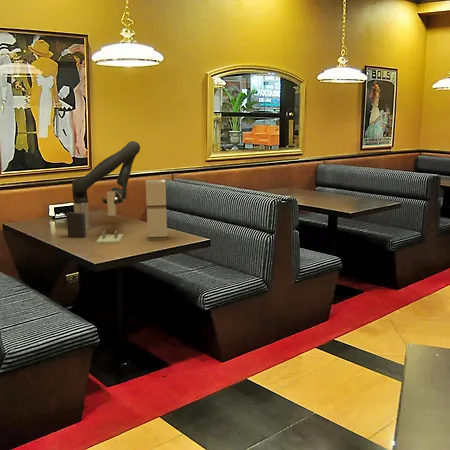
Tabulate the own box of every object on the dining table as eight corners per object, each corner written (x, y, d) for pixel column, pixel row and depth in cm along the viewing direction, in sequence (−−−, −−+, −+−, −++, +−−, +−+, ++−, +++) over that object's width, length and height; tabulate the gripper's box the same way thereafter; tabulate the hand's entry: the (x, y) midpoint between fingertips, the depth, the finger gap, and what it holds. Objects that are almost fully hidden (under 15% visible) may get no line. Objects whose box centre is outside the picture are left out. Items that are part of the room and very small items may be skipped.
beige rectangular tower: (166, 235, 341) (164, 179, 333) (167, 239, 330) (165, 182, 323) (147, 236, 339) (145, 180, 332) (147, 240, 329) (146, 182, 321)
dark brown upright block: (86, 236, 339) (85, 212, 336) (82, 238, 335) (81, 214, 332) (71, 235, 343) (69, 211, 340) (67, 236, 339) (65, 212, 336)
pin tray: (96, 243, 322) (96, 234, 321) (102, 236, 340) (101, 228, 338) (118, 243, 322) (118, 234, 321) (123, 236, 340) (122, 227, 339)
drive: (108, 215, 332) (106, 192, 329) (109, 213, 338) (108, 191, 335) (114, 215, 332) (113, 192, 329) (116, 213, 338) (115, 191, 335)
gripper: (103, 192, 346) (98, 196, 330) (125, 191, 347) (122, 196, 330) (103, 203, 348) (99, 208, 331) (126, 203, 349) (122, 208, 332)
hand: (110, 202), depth 331 cm, fingers closed on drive, 4 cm apart
